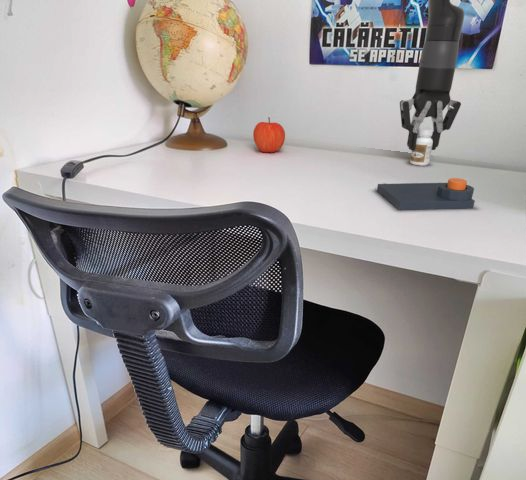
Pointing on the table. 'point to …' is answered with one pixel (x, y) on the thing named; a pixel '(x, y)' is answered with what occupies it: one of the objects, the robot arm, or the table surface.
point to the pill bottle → (422, 147)
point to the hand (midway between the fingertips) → (421, 149)
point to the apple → (269, 136)
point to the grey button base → (426, 196)
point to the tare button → (456, 184)
